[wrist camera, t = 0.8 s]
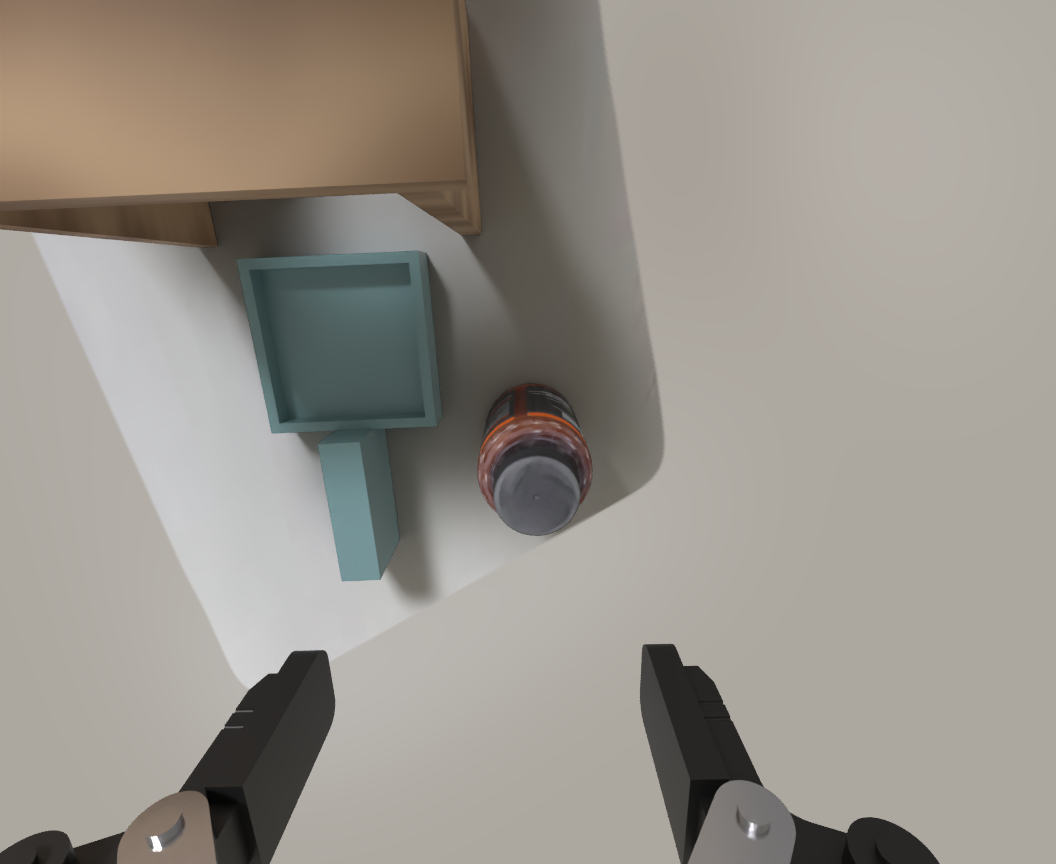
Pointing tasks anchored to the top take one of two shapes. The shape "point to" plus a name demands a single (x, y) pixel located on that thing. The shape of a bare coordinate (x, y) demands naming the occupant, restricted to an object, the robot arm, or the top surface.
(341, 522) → the dustpan
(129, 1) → the wooden bridge stand
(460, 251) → the top surface
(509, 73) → the top surface
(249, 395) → the top surface
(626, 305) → the top surface
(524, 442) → the supplement bottle
